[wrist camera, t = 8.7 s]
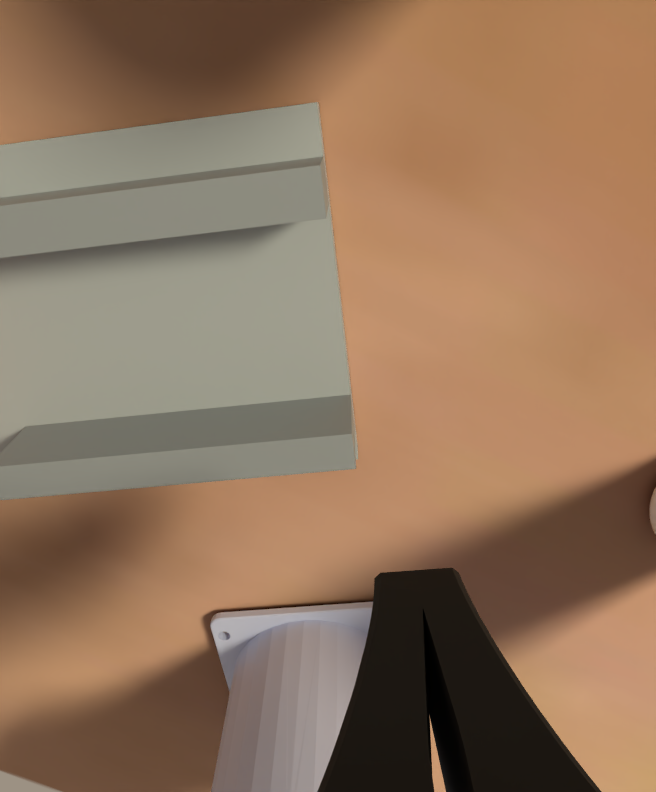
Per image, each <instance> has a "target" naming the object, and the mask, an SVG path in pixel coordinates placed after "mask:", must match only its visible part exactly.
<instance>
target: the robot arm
mask: <svg viewBox="0 0 656 792" xmlns="http://www.w3.org/2000/svg"><path fill="white" fill-rule="evenodd" d="M210 628H211V631H212V635H213V638H214V641H215V645H216V648H217V651H218V655H219V658H220V661H221V665H222V668H223V672H224V675H225V678H226V682H227V685H228V688H229V692H230V694H229V700H228V705H227V710H226V715H225V721H224V726H223V731H222V737H221V742H220V747H219V752H218V758H217V763H216V768H215V773H214V779H213V784H212V789H211V792H434V787H433V780H432V762H431V740H430V719H431V724H432V728H433V733H434V738H435V742H436V747H437V751H438V756H439V761H440V765H441V770H442V774H443V779H444V784H445V788H446V792H601V791H600V789H599V788H598V787H597V786H596V784H595V783H594V782H593V781H592V780H591V778H590V777H589V776H588V775H587V773H586V772H585V771H584V769H583V768H582V767H581V766H580V764H579V763H578V762H577V760H576V759H575V758H574V757H573V755H572V754H571V753H570V751H569V750H568V749H567V747H566V746H565V745H564V743H563V742H562V741H561V739H560V738H559V737H558V735H557V734H556V733H555V731H554V730H553V728H552V727H551V726H550V724H549V723H548V721H547V720H546V719H545V717H544V716H543V715H542V713H541V712H540V710H539V709H538V708H537V706H536V705H535V703H534V702H533V700H532V699H531V697H530V696H529V695H528V693H527V692H526V690H525V689H524V687H523V686H522V684H521V683H520V681H519V680H518V678H517V676H516V675H515V673H514V672H513V670H512V669H511V667H510V666H509V664H508V663H507V661H506V659H505V658H504V656H503V655H502V653H501V652H500V650H499V648H498V647H497V645H496V644H495V642H494V640H493V639H492V637H491V635H490V633H489V632H488V630H487V628H486V626H485V625H484V623H483V621H482V620H481V618H480V616H479V614H478V612H477V610H476V609H475V607H474V605H473V603H472V601H471V599H470V597H469V595H468V593H467V591H466V589H465V587H464V584H463V582H462V580H461V577H460V575H459V573H458V572H457V571H456V570H454V569H453V568H443V569H429V570H415V571H401V572H387V573H380V574H379V575H378V576H377V577H376V578H375V584H374V599H373V602H360V603H346V604H332V605H318V606H304V607H290V608H276V609H262V610H248V611H234V612H221V613H217V614H215V615H214V616H213V617H212V619H211V623H210ZM225 632H227V633H225ZM429 714H430V718H429Z"/></svg>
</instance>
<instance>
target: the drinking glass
mask: <svg viewBox="0 0 656 792" xmlns="http://www.w3.org/2000/svg"><path fill="white" fill-rule="evenodd" d="M649 516H650V522H651V526H652V529H653V531H654V533H655V535H656V487H655V489H654V491H653V494H652V497H651V501H650V507H649Z"/></svg>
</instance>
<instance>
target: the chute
mask: <svg viewBox="0 0 656 792" xmlns="http://www.w3.org/2000/svg"><path fill="white" fill-rule="evenodd" d="M356 459H358V446H357V436H356V427H355V418H354V409H353V401H352V392H351V383H350V374H349V366H348V357H347V348H346V339H345V330H344V322H343V313H342V304H341V295H340V287H339V278H338V269H337V260H336V251H335V243H334V234H333V225H332V216H331V208H330V199H329V190H328V181H327V172H326V164H325V155H324V146H323V137H322V128H321V120H320V111H319V102H316V103H308V104H301V105H293V106H286V107H279V108H271V109H264V110H257V111H249V112H242V113H234V114H227V115H220V116H212V117H205V118H197V119H190V120H183V121H175V122H168V123H160V124H153V125H146V126H138V127H131V128H123V129H116V130H109V131H101V132H94V133H87V134H79V135H72V136H64V137H57V138H50V139H42V140H35V141H27V142H20V143H13V144H5V145H0V499H1V500H9V499H20V498H31V497H43V496H54V495H65V494H76V493H88V492H99V491H110V490H122V489H133V488H144V487H156V486H167V485H178V484H190V483H201V482H212V481H224V480H235V479H246V478H258V477H269V476H280V475H292V474H303V473H314V472H326V471H337V470H348V469H356Z"/></svg>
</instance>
